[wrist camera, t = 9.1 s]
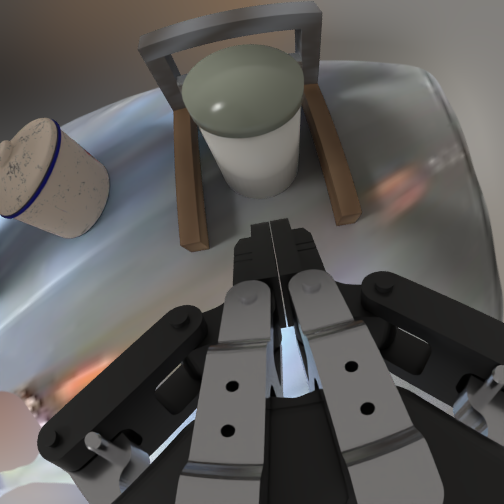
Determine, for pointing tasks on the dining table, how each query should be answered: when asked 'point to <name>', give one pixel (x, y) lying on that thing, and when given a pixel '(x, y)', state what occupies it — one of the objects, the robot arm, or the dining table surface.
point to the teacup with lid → (51, 181)
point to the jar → (249, 115)
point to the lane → (185, 129)
